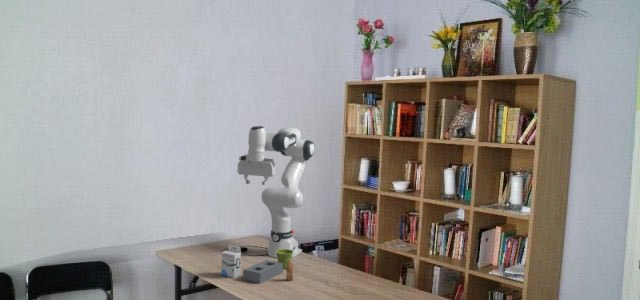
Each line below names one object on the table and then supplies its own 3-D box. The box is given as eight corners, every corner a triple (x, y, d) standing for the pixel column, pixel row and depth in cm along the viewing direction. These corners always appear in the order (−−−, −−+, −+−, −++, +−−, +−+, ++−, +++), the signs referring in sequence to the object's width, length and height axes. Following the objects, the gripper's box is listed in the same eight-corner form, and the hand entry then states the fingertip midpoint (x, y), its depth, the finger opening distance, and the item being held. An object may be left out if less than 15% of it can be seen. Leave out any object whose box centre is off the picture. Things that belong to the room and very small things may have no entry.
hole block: (266, 269, 246) (266, 259, 246) (282, 272, 242) (282, 263, 241) (243, 279, 228) (243, 269, 228) (260, 283, 224) (260, 273, 224)
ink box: (220, 275, 234) (221, 246, 234) (227, 272, 239) (228, 244, 238) (234, 278, 230) (234, 248, 229) (240, 275, 235) (241, 246, 234)
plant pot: (290, 271, 245) (290, 254, 245) (273, 269, 247) (273, 252, 246) (294, 265, 254) (295, 250, 254) (278, 264, 256) (278, 248, 256)
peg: (288, 278, 232) (288, 260, 232) (293, 279, 231) (294, 261, 231) (285, 280, 230) (285, 262, 229) (290, 281, 228) (291, 263, 228)
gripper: (277, 158, 243) (276, 185, 243) (242, 156, 249) (241, 182, 250) (272, 159, 237) (271, 186, 237) (236, 156, 243) (235, 183, 244)
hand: (255, 184), depth 244 cm, fingers open, 8 cm apart
